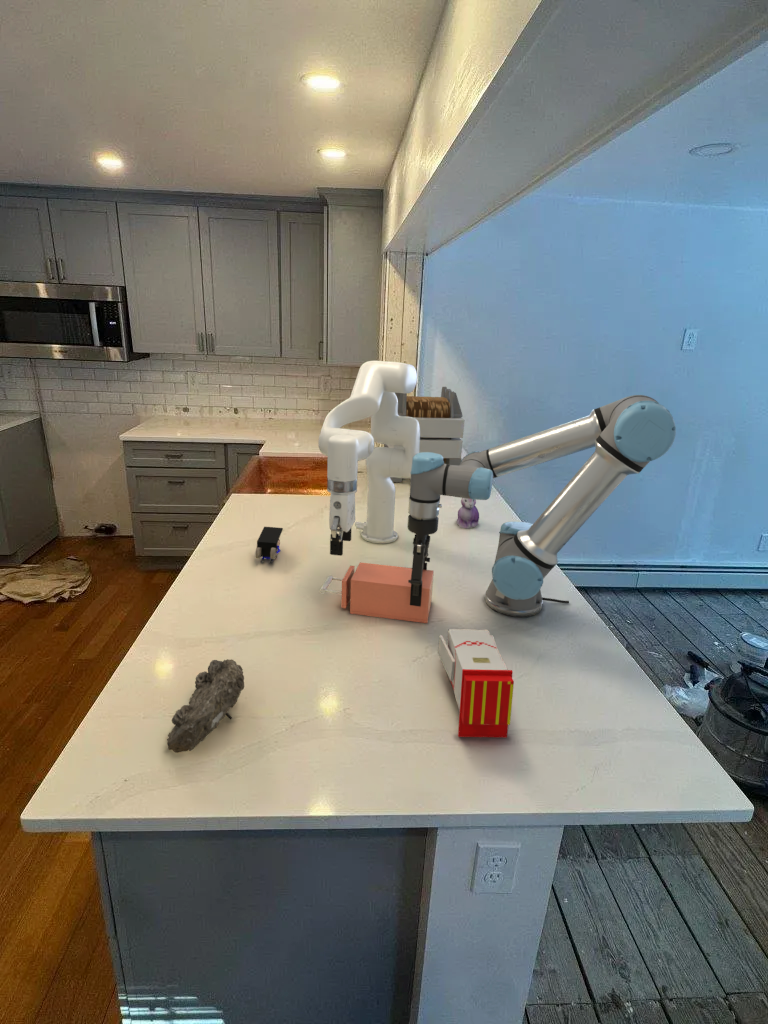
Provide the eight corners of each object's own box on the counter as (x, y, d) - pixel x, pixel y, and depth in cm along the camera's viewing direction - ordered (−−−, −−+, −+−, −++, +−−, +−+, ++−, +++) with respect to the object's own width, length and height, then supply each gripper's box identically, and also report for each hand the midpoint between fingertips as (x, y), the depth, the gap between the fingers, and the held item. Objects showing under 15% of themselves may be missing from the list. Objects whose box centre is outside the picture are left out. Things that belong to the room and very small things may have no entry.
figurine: (465, 530, 205) (468, 491, 200) (449, 521, 213) (452, 483, 208) (486, 527, 209) (490, 488, 204) (469, 518, 218) (473, 480, 213)
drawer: (318, 605, 148) (318, 578, 146) (328, 588, 157) (328, 562, 154) (413, 617, 145) (415, 589, 142) (417, 599, 153) (419, 573, 151)
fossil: (192, 660, 117) (244, 628, 112) (224, 691, 120) (276, 661, 115) (142, 746, 98) (202, 712, 93) (182, 779, 101) (242, 748, 96)
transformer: (382, 463, 289) (386, 382, 275) (445, 464, 293) (451, 384, 279) (390, 482, 257) (394, 392, 243) (460, 483, 261) (468, 394, 247)
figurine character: (277, 570, 171) (284, 545, 185) (276, 548, 168) (283, 525, 181) (254, 569, 171) (263, 545, 184) (253, 548, 168) (262, 524, 181)
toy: (488, 613, 130) (523, 677, 101) (484, 667, 133) (517, 744, 104) (435, 612, 130) (455, 676, 101) (432, 666, 133) (451, 743, 103)
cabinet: (350, 613, 147) (350, 579, 143) (358, 594, 157) (359, 562, 153) (427, 623, 144) (429, 588, 140) (431, 603, 154) (433, 570, 150)
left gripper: (349, 496, 134) (347, 562, 140) (363, 477, 150) (361, 536, 156) (318, 493, 135) (318, 559, 141) (335, 474, 151) (335, 534, 157)
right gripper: (434, 533, 129) (427, 618, 136) (442, 502, 150) (436, 576, 158) (401, 530, 130) (396, 614, 137) (414, 499, 151) (409, 573, 159)
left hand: (340, 547), depth 148 cm, fingers open, 9 cm apart
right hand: (417, 594), depth 148 cm, fingers closed on cabinet, 11 cm apart
